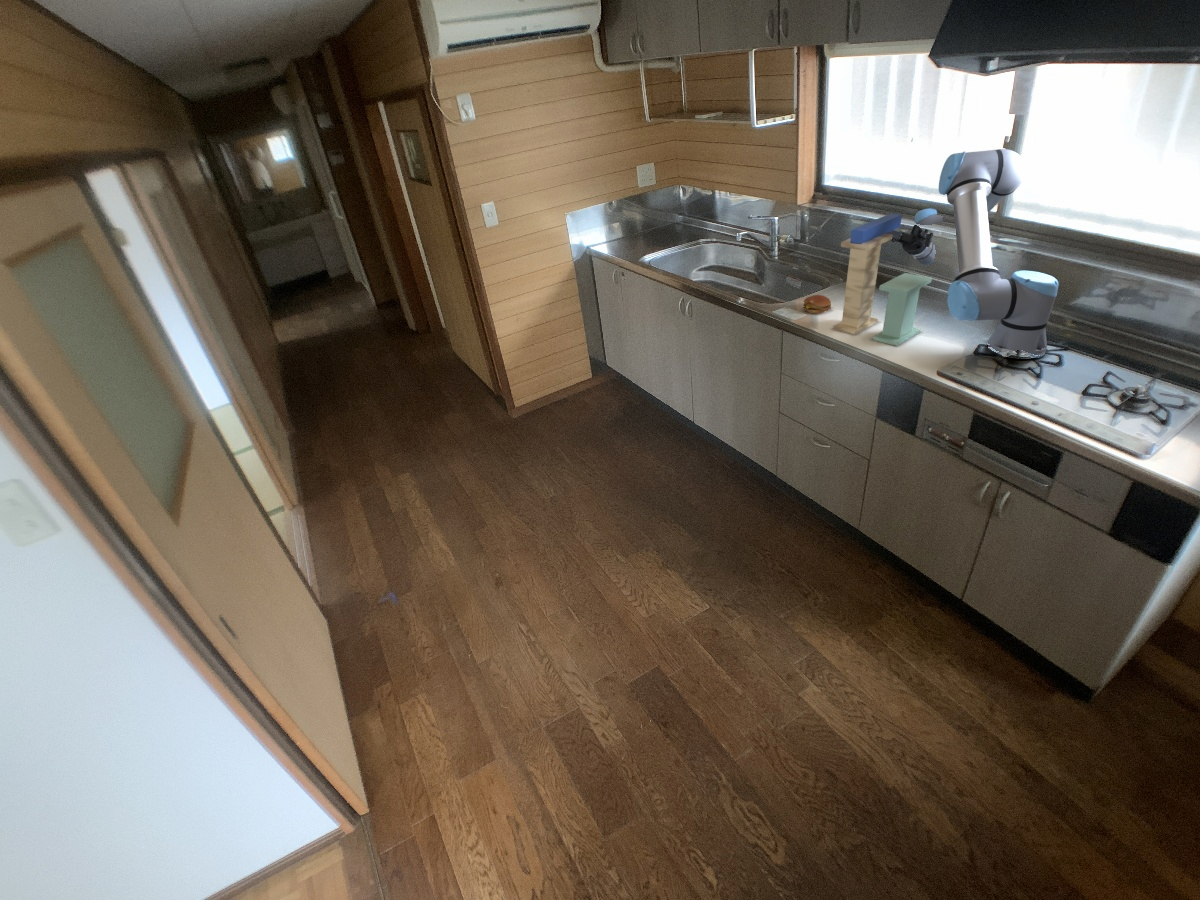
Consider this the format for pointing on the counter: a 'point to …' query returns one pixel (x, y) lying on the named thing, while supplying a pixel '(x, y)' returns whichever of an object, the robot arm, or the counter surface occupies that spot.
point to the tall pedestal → (861, 284)
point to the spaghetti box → (875, 228)
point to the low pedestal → (901, 308)
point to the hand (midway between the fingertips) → (893, 226)
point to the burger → (817, 304)
